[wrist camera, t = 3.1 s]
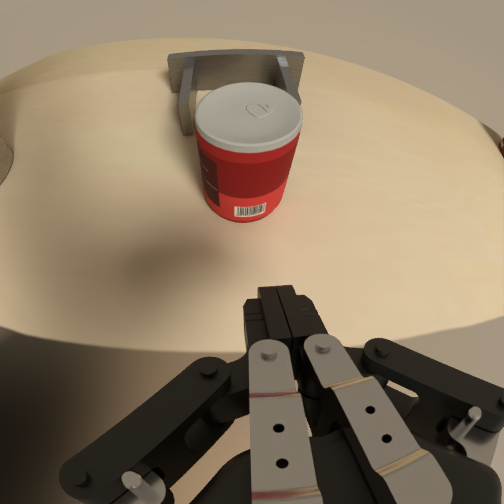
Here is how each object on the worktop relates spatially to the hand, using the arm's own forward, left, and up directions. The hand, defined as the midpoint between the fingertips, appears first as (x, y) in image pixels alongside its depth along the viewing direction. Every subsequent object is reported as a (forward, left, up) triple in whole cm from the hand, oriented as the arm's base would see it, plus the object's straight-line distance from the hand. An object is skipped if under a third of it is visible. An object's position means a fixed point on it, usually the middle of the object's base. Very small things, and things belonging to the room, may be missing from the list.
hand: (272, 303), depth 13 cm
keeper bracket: (+14, +24, -12) cm, 30 cm away
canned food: (+7, +12, -12) cm, 18 cm away
